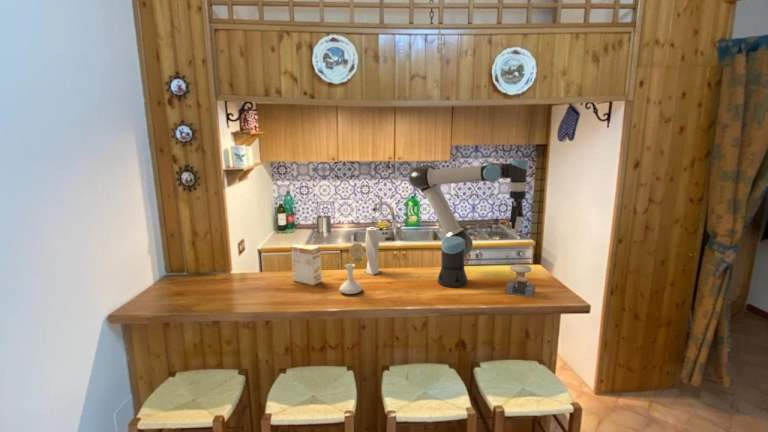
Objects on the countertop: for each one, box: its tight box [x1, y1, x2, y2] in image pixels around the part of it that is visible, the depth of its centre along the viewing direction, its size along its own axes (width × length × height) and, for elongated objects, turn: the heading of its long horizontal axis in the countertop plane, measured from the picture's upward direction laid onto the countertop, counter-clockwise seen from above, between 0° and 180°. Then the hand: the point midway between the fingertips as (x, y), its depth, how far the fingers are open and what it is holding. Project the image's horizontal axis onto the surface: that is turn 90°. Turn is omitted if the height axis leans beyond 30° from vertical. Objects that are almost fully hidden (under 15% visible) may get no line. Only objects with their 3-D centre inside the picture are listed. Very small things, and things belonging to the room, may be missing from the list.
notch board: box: [505, 280, 536, 299], centre depth 199 cm, size 12×8×4 cm, turn 61°
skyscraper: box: [363, 224, 382, 276], centre depth 229 cm, size 8×8×28 cm
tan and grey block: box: [517, 276, 529, 294], centre depth 198 cm, size 4×4×7 cm
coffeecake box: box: [290, 242, 323, 286], centre depth 218 cm, size 15×7×20 cm, turn 58°
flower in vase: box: [338, 242, 366, 295], centre depth 202 cm, size 13×11×25 cm
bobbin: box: [509, 264, 532, 288], centre depth 208 cm, size 10×10×10 cm
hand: (515, 231), depth 209 cm, fingers open, 13 cm apart
